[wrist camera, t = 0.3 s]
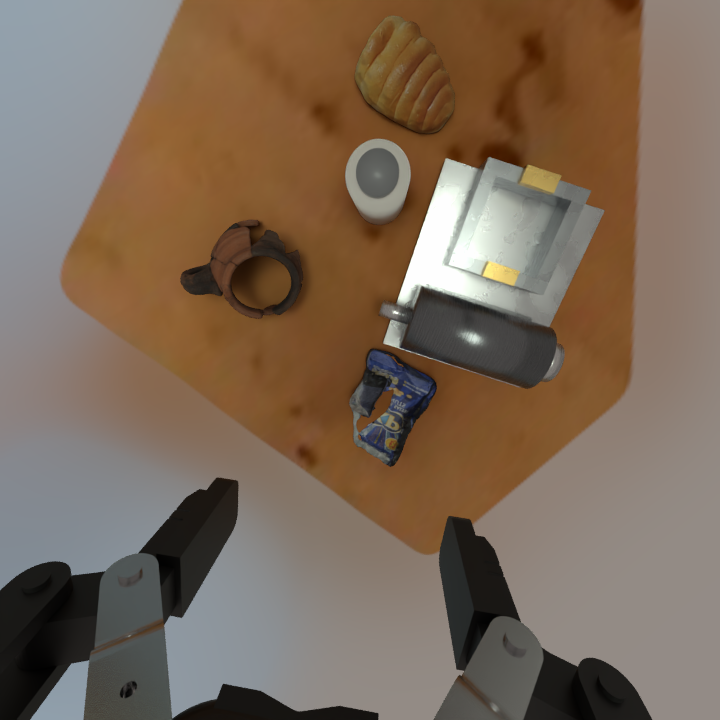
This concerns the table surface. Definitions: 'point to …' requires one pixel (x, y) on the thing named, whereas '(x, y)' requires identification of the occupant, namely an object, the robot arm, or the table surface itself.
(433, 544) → the table surface
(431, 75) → the pastry
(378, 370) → the snack package
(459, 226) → the motor unit
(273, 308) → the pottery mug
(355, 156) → the white cylinder roll
